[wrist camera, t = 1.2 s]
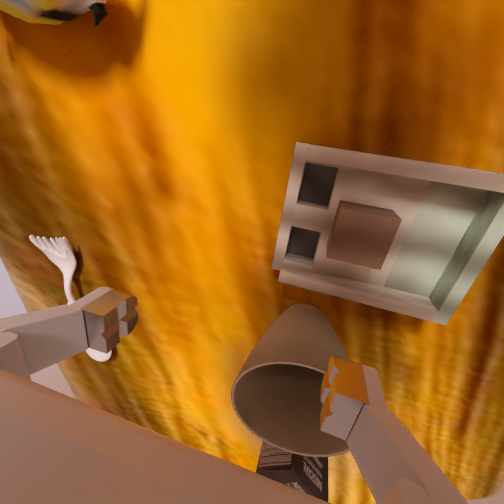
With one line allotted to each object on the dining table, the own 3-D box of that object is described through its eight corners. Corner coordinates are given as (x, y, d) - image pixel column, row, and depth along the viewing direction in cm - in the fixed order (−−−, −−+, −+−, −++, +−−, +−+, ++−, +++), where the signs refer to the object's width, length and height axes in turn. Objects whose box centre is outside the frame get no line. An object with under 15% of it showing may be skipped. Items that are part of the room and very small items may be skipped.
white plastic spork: (78, 232, 47) (61, 238, 44) (121, 356, 60) (111, 368, 57) (43, 230, 49) (24, 236, 46) (92, 350, 62) (80, 361, 59)
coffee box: (329, 401, 47) (330, 513, 33) (300, 407, 50) (290, 513, 36) (303, 367, 45) (293, 470, 31) (275, 375, 48) (254, 473, 34)
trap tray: (298, 141, 31) (293, 142, 26) (499, 172, 27) (538, 180, 22) (274, 261, 38) (267, 278, 33) (428, 299, 34) (445, 325, 29)
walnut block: (339, 199, 30) (341, 207, 26) (392, 209, 29) (402, 219, 25) (326, 244, 32) (326, 257, 29) (374, 255, 31) (380, 270, 28)
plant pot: (331, 366, 43) (334, 474, 29) (252, 335, 45) (220, 422, 31) (370, 302, 37) (398, 403, 23) (275, 268, 39) (247, 342, 25)
